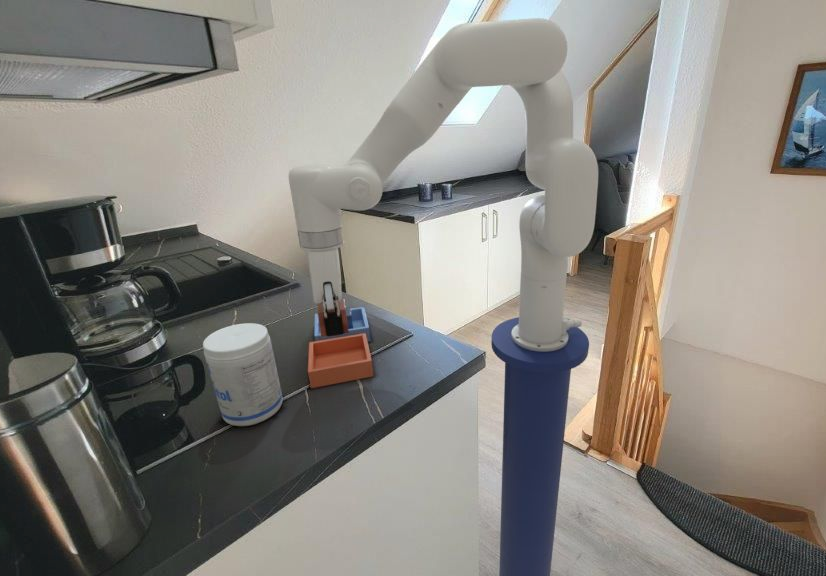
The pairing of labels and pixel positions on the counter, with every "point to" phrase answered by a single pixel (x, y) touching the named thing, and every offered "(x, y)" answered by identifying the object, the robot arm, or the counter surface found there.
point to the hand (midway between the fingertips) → (334, 327)
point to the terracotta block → (342, 312)
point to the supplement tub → (243, 373)
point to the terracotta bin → (339, 360)
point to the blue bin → (358, 328)
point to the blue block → (349, 318)
